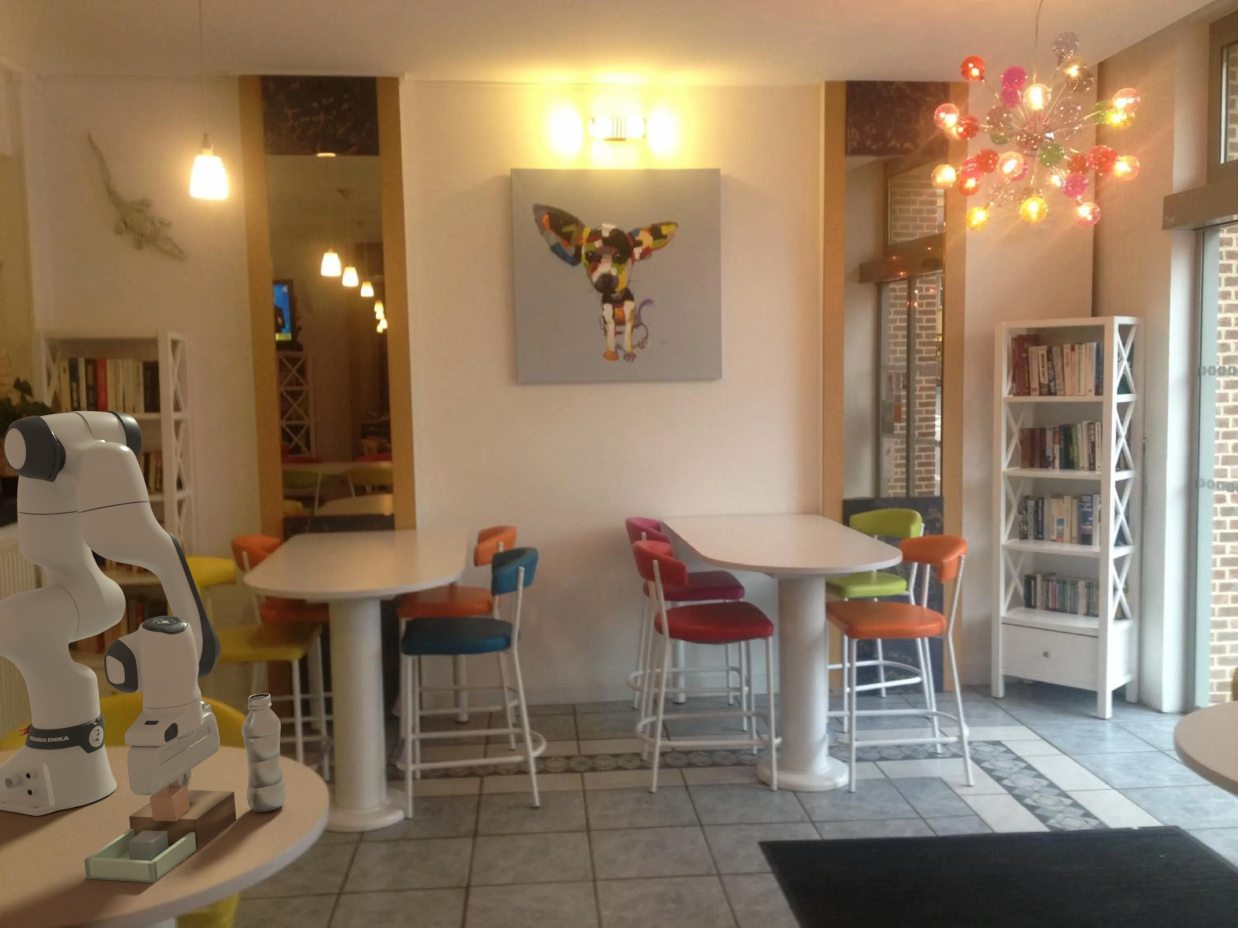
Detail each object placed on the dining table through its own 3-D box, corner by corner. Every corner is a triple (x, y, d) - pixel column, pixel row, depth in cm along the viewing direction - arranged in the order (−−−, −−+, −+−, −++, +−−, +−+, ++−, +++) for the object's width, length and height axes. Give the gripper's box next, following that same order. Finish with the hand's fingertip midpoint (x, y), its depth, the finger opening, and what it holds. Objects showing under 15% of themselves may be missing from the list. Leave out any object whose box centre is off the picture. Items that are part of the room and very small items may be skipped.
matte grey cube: (145, 854, 168) (130, 866, 164) (143, 830, 167) (128, 841, 163) (169, 855, 167) (155, 867, 163) (167, 830, 167) (152, 842, 163)
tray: (86, 878, 161) (84, 859, 161) (131, 846, 172) (130, 828, 172) (154, 882, 159) (152, 863, 159) (196, 850, 169) (194, 832, 169)
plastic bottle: (295, 802, 187) (287, 691, 185) (271, 818, 180) (262, 703, 179) (264, 799, 189) (256, 689, 187) (239, 814, 183) (230, 701, 181)
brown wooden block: (131, 845, 172) (129, 815, 172) (173, 816, 183) (170, 788, 182) (198, 849, 170) (196, 819, 169) (236, 819, 180) (234, 791, 180)
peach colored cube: (153, 820, 170) (149, 797, 169) (167, 807, 174) (163, 784, 173) (176, 821, 169) (172, 797, 168) (190, 808, 173) (186, 785, 172)
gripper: (192, 697, 183) (198, 774, 185) (116, 738, 163) (125, 825, 164) (225, 697, 182) (232, 775, 183) (154, 739, 162) (162, 826, 163)
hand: (181, 799), depth 174 cm, fingers closed
